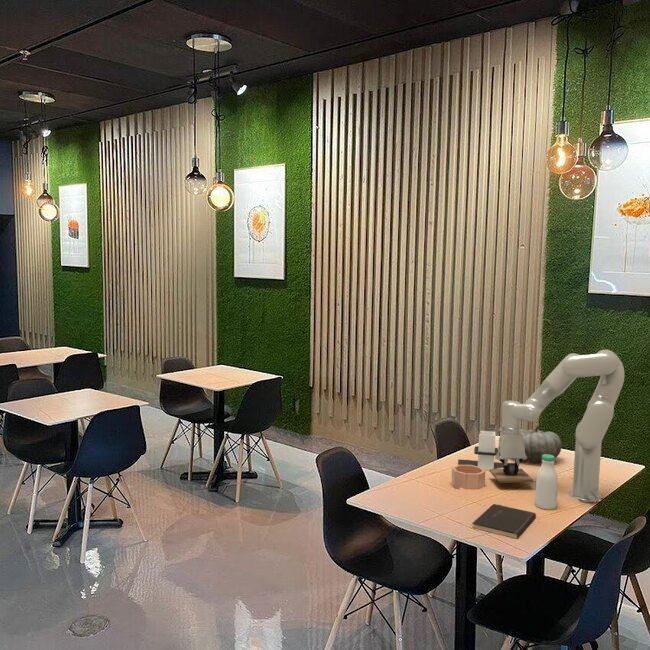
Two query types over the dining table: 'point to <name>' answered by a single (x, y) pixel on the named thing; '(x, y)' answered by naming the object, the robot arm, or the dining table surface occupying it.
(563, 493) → the dining table surface
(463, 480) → the terracotta bowl
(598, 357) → the robot arm
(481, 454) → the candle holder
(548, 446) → the gourd
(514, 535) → the hardcover book
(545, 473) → the milk bottle
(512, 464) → the walnut lid
